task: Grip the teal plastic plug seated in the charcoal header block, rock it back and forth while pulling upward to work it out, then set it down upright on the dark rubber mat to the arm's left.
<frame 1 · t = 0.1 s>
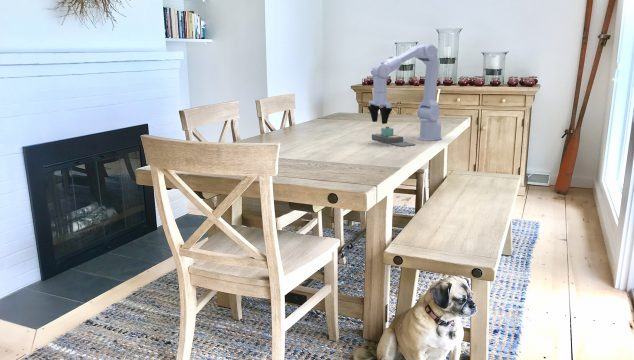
hand: (379, 122, 235), 10 cm above the table, fingers open, 7 cm apart
header: (387, 140, 246), on the table
plug: (387, 141, 246), resting in header
mat: (402, 144, 236), on the table
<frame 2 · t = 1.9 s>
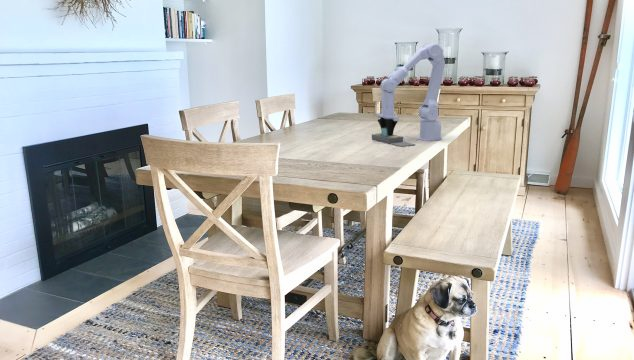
hand: (387, 134, 245), 3 cm above the table, fingers closed on plug, 4 cm apart
plug: (387, 140, 246), resting in header, touching gripper
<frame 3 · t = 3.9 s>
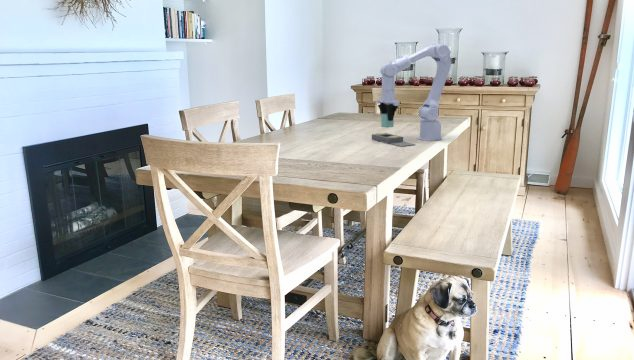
hand: (387, 120, 244), 10 cm above the table, fingers closed on plug, 4 cm apart
plug: (387, 126, 244), point 7 cm above the table, touching gripper
when the fingers open (4 cm above the table, at t = 6.0 s): plug stays where it is, resting on mat.
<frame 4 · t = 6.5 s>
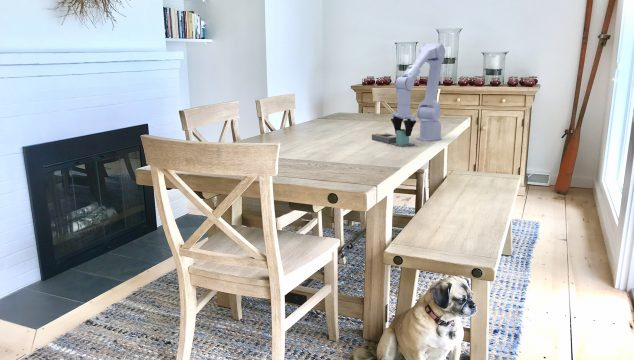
hand: (403, 135, 235), 4 cm above the table, fingers open, 7 cm apart
plug: (402, 143, 235), resting on mat
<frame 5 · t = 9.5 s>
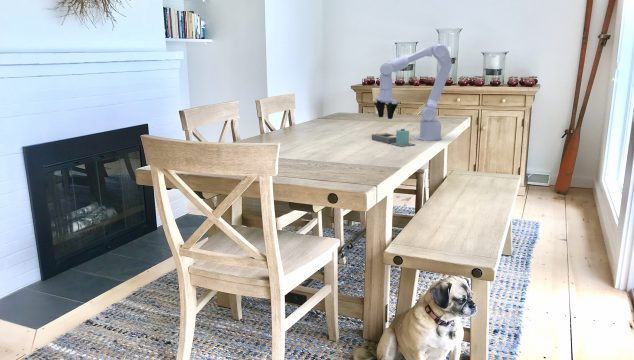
hand: (385, 118, 250), 10 cm above the table, fingers open, 7 cm apart
nothing on the table moved.
at the end: plug inside the target area on the mat (0.2 cm from its centre), point 0.4 cm above the mat's base; plug tilted 0°; plug touching mat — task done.
